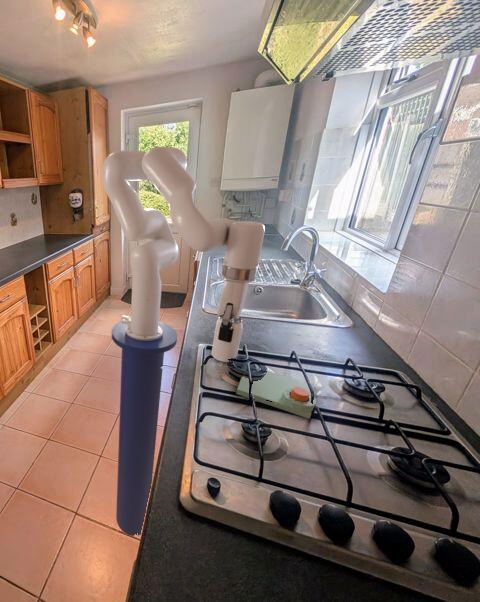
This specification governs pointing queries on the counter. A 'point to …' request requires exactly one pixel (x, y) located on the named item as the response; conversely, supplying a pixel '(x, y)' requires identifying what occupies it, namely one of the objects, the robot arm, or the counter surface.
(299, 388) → the tare button
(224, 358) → the can
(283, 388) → the scale
